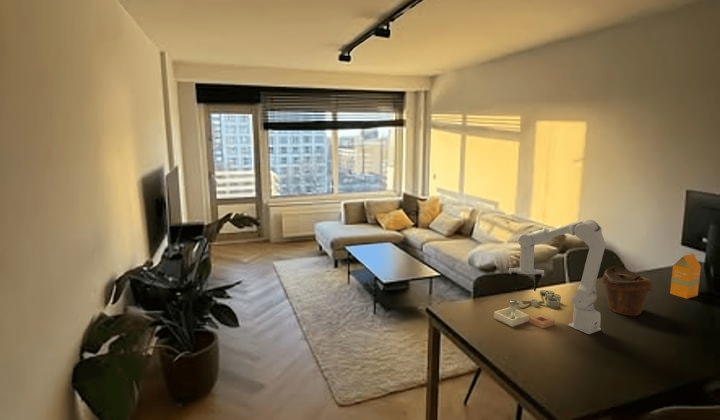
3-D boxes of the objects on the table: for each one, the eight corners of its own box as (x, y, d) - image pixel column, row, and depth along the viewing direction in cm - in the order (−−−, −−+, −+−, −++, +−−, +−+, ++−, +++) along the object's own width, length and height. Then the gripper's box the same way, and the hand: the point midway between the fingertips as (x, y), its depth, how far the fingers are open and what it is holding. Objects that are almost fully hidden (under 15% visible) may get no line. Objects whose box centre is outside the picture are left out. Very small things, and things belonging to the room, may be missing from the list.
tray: (528, 321, 180) (529, 314, 180) (512, 327, 176) (512, 320, 175) (510, 313, 189) (510, 307, 189) (493, 318, 184) (494, 311, 184)
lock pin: (517, 319, 182) (518, 301, 180) (512, 321, 180) (513, 303, 179) (511, 316, 184) (512, 299, 183) (506, 318, 183) (507, 300, 181)
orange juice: (669, 293, 208) (673, 254, 205) (680, 290, 212) (684, 251, 208) (687, 298, 201) (692, 258, 198) (698, 295, 205) (702, 255, 201)
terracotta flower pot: (651, 322, 177) (654, 281, 174) (596, 311, 189) (599, 273, 186) (653, 309, 191) (657, 270, 188) (603, 299, 203) (605, 263, 200)
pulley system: (573, 302, 202) (544, 292, 214) (574, 293, 201) (545, 283, 213) (540, 319, 187) (511, 307, 198) (541, 310, 185) (511, 298, 197)
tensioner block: (554, 324, 177) (554, 320, 177) (543, 328, 174) (543, 324, 173) (540, 318, 183) (540, 314, 183) (528, 322, 180) (529, 317, 179)
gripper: (509, 261, 186) (508, 291, 189) (545, 263, 182) (544, 294, 184) (509, 257, 193) (508, 285, 195) (543, 259, 189) (542, 288, 191)
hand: (525, 289), depth 190 cm, fingers open, 7 cm apart
